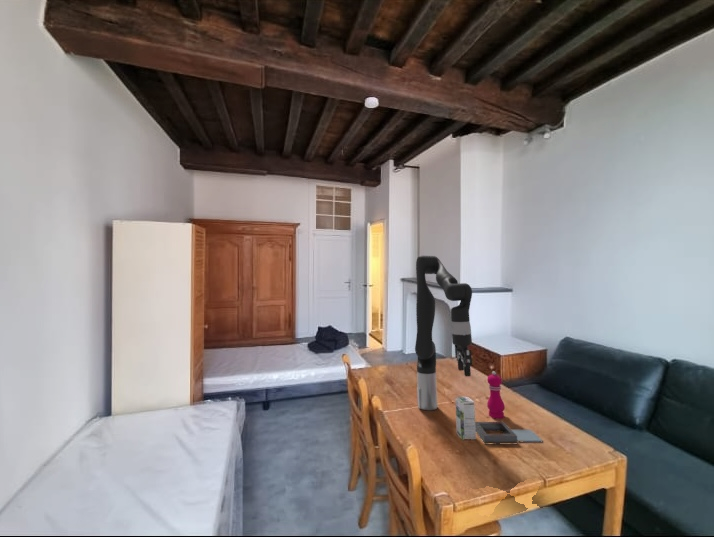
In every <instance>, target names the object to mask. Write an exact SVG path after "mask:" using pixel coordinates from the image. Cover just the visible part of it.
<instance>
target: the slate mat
mask: <svg viewBox="0 0 714 537" xmlns="http://www.w3.org/2000/svg"><path fill="white" fill-rule="evenodd" d="M511 430H512V431H513V432H514V433H515V434H516V436H517V442H518V441H523V442H522V443H544V440H543V439H542V438H541V437H539V435H537V434H536V433H535V431H533V430H532V429H511ZM541 441H542V442H541Z"/></svg>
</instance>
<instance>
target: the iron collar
mask: <svg viewBox="0 0 714 537" xmlns="http://www.w3.org/2000/svg"><path fill="white" fill-rule="evenodd" d="M475 429H476V432H477V433H476V434H477V435H478V437H479V436H480V437H479V438H480V440H481V439H482V440H483V441H482V440H481V441H482V442H484V443H496V444H495V445H501V444H500V443H517V444H518V441H517V436H516V434H515V433H514V432H513V431H512V430H513V429H511V428H510V427H509V426H508V425H507V424H506V423H505V422H504V421H475ZM487 432H502V433H487ZM484 443H483V444H484Z"/></svg>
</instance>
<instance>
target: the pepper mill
mask: <svg viewBox="0 0 714 537" xmlns="http://www.w3.org/2000/svg"><path fill="white" fill-rule="evenodd" d="M486 380H487V383H488V389H489V391H490V392H489V397H488V401H487V403H486V405H487V406H486V407H487V409H489V410H488V416H489V417H490V418H492V419H497V420H501V419H504V417H505V413H504V412H503V411H505V408H506V407H505V403H504V401H503V399H502V395H501V390H502V387H501V385H502V384H503V381H502V378H501V376H499V375H498V374H497V372H496V371H494V370H493V371H492V372H491V374H489V375H488V376H487V379H486Z"/></svg>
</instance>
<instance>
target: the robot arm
mask: <svg viewBox="0 0 714 537" xmlns="http://www.w3.org/2000/svg"><path fill="white" fill-rule="evenodd" d="M415 264H416V265H415V271H416V272H415V273H416V302H415V303H416V308H415V310H416V311H415V312H416V313H415V314H416V338H415V346H414V351H415V354H416V356H417V363H416V377H417V378H416V380H417V385H416V395H417V406H418V408H419V410H424V411H434V410H437V409H438V393H437V369H436V368H437V351H436V350H437V349H436V344H435V342H434V341H433V327H434V322H435V315H436V299H435V297H434V294H433V293H432V291H431V290H430V288H429V286H428V284H427V280H426V275H435V280H436V283H437V285H439V287H440V288H442V289H443V290H442V291H443V292H444V295H445V298H446V299H447V300H448V301H451V302H457V301H458V302H459V304H458V305H457V306H453V307H451V309H450V318H451V325H450V326H451V341H452V343H451V344H452V345H454V352H455V356H454V358H455V359H456V361H457V370H458V371H461V372H462V371H463V375H464V377H471V375H472V374H471V373H472V372H471V367H472V366H473V359H472V350H471V349H469V348H468V346H471V345H472V344H473V341H472V340H473V339H472V327H471V322H470V306H471V302H472V297H473V289H472V286H470V284H468V283H464V282H462V283H459V282H458V280H457V279H456V277H454V275H453V274H451V273H450V272H449V271H448V270H447V269H446V267H445V266H444V265H443V263H442V261H441V260H440V258H439V257H437V256H435V255H424V254H423V255H418V256H417V258H416V262H415Z"/></svg>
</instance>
